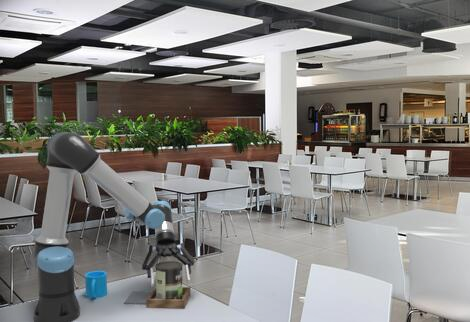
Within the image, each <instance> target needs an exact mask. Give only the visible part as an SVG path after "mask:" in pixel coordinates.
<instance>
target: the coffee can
mask: <svg viewBox="0 0 470 322" xmlns="http://www.w3.org/2000/svg"><path fill="white" fill-rule="evenodd" d="M183 265H184V264H183V263H182V262H180V261H174V260H173V261H172V260H167V261H161V262H160V261H159V262H158V263H155V264H154V267H155V287H156V298H155V299H178V300H182V298H183V296H184V295H183V293H182V292H183V291H182V287H183Z"/></svg>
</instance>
